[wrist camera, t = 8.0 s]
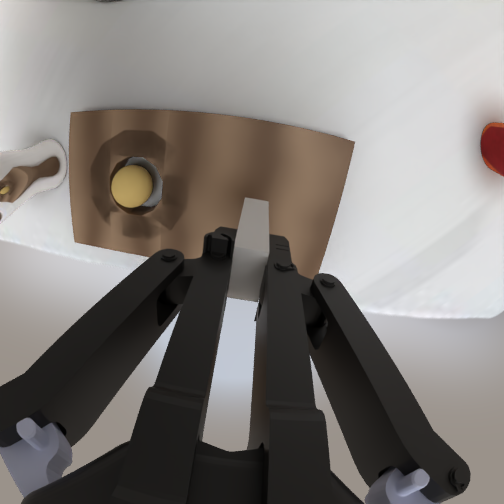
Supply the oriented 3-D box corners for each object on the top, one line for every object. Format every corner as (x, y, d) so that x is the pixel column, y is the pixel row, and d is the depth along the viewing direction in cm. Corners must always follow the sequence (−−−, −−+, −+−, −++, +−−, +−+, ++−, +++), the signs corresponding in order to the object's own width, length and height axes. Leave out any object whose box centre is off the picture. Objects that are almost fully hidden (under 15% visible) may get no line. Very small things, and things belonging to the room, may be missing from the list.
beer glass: (59, 124, 22) (-50, 154, 8) (77, 178, 25) (-25, 236, 11) (26, 152, 23) (-66, 192, 10) (44, 200, 26) (-43, 258, 13)
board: (86, 232, 28) (74, 242, 25) (85, 111, 21) (70, 112, 19) (310, 271, 29) (314, 285, 26) (346, 139, 22) (355, 142, 20)
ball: (112, 178, 24) (97, 190, 21) (139, 152, 23) (127, 160, 20) (136, 206, 26) (125, 222, 23) (164, 183, 25) (156, 195, 22)
